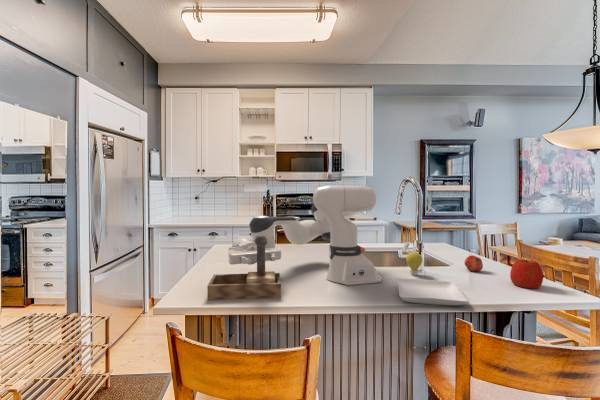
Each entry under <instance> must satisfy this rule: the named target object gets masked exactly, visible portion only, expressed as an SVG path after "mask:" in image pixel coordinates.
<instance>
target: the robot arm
mask: <svg viewBox="0 0 600 400" xmlns="http://www.w3.org/2000/svg"><path fill="white" fill-rule="evenodd" d="M312 202H313V204H312V206H311V207H310V208H311V209H310V210H311V213H312V215H313V216H314V218H315V220H314V219H305V220H299V221H298V220H297V218H296V217H293V216H267V215H257V216H254V217H252V219H251V220H250V222H249V230H250V234H251V239H249V238H246V237H238V238H236V239H235V240H234V241H233V242H232V246H229V247H228V263H229V264H230V265H241V264H243V265H245V264H246V265H255V264H257V245H256V244H255V239H256V237H257V236H259V235H263V236H265V237H266V239H267V244H266V245H265V262H269V261H271V262H275V261H278V260H281V258H282V251H281V249H278V248H276V241H275V234H274V232H275V231H274V227H275V226H281V228H282V229H283V231H284V234H285V237H286V238H287V240H288V241H289V243H291V244H293V245H295V246H299V245H303V244H307V243H309V242H311V241H312V240H314V239H316V238H317V237H320V236H321V239H322V240H325V241H329V242H330V244H329V248H328V249H329V250H328V258H329V264H328V270H327V275H326V280H328V281H330V282H334V283H337V284H343V285H346V286H353V285H364V284H375V283H381V282H382V276H381V275H380V274H378V273H377V272H376V267H375V265H374V263H373V262H372V261H371V260H370V259H368V258H367V257H366V256H365V255H363V253H364V254H365V252H366V249H365V247H363V246H360V245H358V226H357V225H356V224H355V223H354V222H352V221H350V220H348V219H350V218H351V217H353V215H356V214H359V213H363V212H369V211H371V210H373V209H374V207H375V205H376V203H377V194H376V192H375V191H374V190H373V188H372V187H370V186H366V185H365V186H363V185H345V184H344V185H341V184H340V185H336V184H335V185H334V184H333V185H323V186H319V187H317V188H316V189H315V191H314V192H313V196H312Z"/></svg>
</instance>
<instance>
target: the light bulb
mask: <svg viewBox="0 0 600 400" xmlns="http://www.w3.org/2000/svg"><path fill="white" fill-rule="evenodd" d="M405 257H406V259H405V261H406V263H407V265H408V266H409V268H410V269H409V273H410V275H411V276H417V274H418V273H419V271H418V269H419V268H420V267H421V265H422V263H423V257H422V255H421V254H420V253H419V252H416V251H412V252H409V253H408V254H407V255H406V256H405Z"/></svg>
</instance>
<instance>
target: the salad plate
mask: <svg viewBox="0 0 600 400" xmlns="http://www.w3.org/2000/svg"><path fill="white" fill-rule="evenodd" d="M395 282H396V285H397V289H398V295H399V298H400V299H401V300H402V301H404V302H406V303H407V302H408V303H412V304H425V305H436V306H437V305H439V306H452V307H453V306H455V307H456V306H457V307H458V306H463V305H465V304H467V303H468V302H469V300H468V299H467V297H466V296H465V295H464V294H463V292H462V291H461V290H460V289H459V287H458V286H457V285H456V284H455V283H454V282H452V281H446V280H445V281H444V280H432V279H421V278H419V279H417V278H401V277H400V278H399V277H396V278H395Z"/></svg>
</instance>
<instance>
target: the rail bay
mask: <svg viewBox="0 0 600 400" xmlns="http://www.w3.org/2000/svg"><path fill="white" fill-rule="evenodd" d="M247 275H248V273H223V274H222V273H219V274H218V273H217V274H213V276H212V277H211V279H210V280H209V283H208V284H207V285H206V286H207V291H206V292H207V301H222V300H225V301H226V300H255V299H257V300H259V299H260V300H261V299H281V298H282V283H281V277H280V272H275V283H252V284H247Z"/></svg>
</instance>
